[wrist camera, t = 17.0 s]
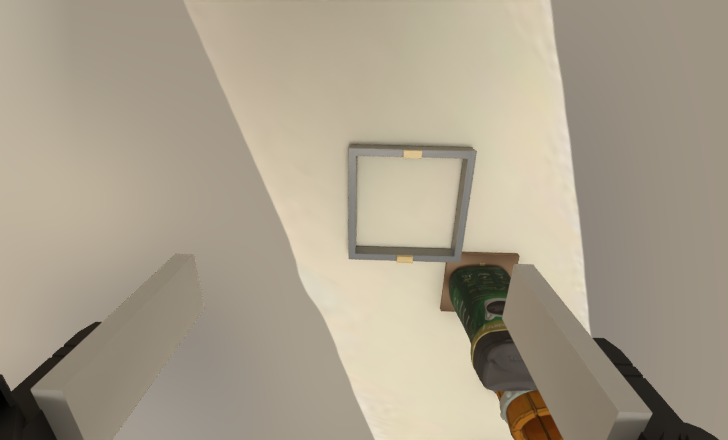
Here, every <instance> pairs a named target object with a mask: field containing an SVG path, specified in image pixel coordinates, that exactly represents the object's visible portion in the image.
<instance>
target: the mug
mask: <svg viewBox="0 0 728 440" xmlns="http://www.w3.org/2000/svg"><path fill="white" fill-rule="evenodd" d="M494 392H495V393H496V394H497V396H498V398H499V401H500V410H501V413H500V415H501V418H502V419H503V420H505V421H506V423H507V424H508V425H509V429H510V432H511V435H512V437H513V438H514V440H563V438H562V436H561V434H560V432H559V430H558V428H557V426H556V424H555V422H554V420H553V418H552V416H551V414H550V412H549V410H548V408H547V406H546V404H545V402H544V400H543V398H542V396H541V394H540V392H539V390H532V391H494Z"/></svg>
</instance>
